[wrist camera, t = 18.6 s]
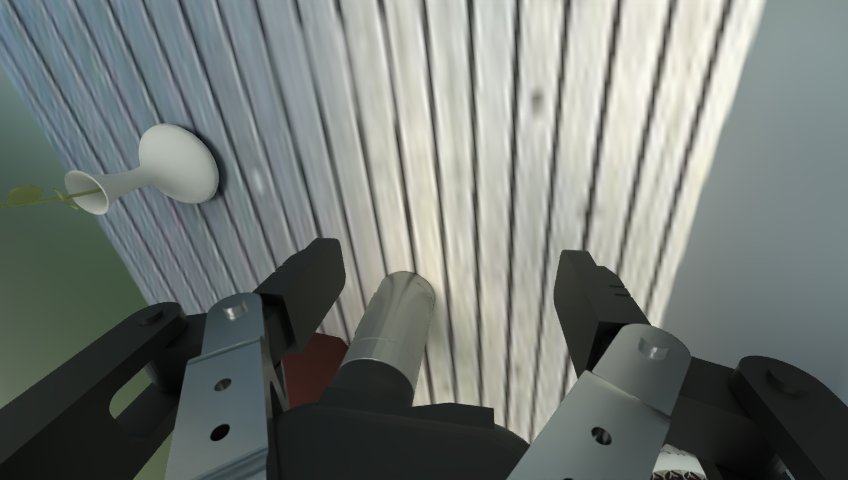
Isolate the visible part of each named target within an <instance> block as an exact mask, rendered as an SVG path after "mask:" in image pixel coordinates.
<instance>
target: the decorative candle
mask: <svg viewBox="0 0 848 480" xmlns="http://www.w3.org/2000/svg"><path fill="white" fill-rule="evenodd" d="M650 480H708V479H707V477H706V475H705V473H704V471H703V469H702V467H701V465H700V463H699V461H698V459H697V457H696V456H695V455H693V454H690V453H688V452H685V451H683V450H680V449H678V448H675V447H673V446H671V445H668V444H666V443H663V445H662V448H661V451H660V453H659V456H658V459H657V462H656V464H655V467H654V470H653V472H652V475H651V478H650Z"/></svg>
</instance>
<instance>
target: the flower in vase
mask: <svg viewBox="0 0 848 480" xmlns="http://www.w3.org/2000/svg"><path fill="white" fill-rule="evenodd" d="M139 160H140V166H139V167H138V168H136V169H133V170H130V171H126V172H121V173H116V174H108V175H93V174H88V173H85V172H81V171H70V172H68V173H67V174H66V176H65V186H66V188H67V191H68V193H69V195H66V196H63V195H62V194H61V193H60V192H59V191H57V190H56V189H54V190H55V192H56V193H57V194H58V195H59V196H60V197H56V198H50V199H44V200H38V199H39V198H40V197H41V195H42V188H41V187H38V186H33V185H27V186H21V187H18V188H16V189H14V190H12V191H11V192H10V193H9V194H8V199H9V201H10V202H11V203H0V206H4V207H9V206H26V205H33V204H39V203H46V202H52V201H57V200H63V201H64V204H66V205H70V206H72V207H73V208H76V209H77V210H79V209H78V208H77V207H76V206H75V205H74V204H72V203H71V202H70V201H69V200H68V199H69V198H72V199H73V200H74V201H75V202H76V203H77V204H78V205H79V206H80V207H82V208H83V209H85V210H86V211H88V212H90V213H93V214H97V215H102V214H105V213H106V212H107V211H108V210H109V208H110V206H111V204H112V203H113V202H114V201H115V200H116V199H117V198H119V197H120V196H122V195H124V194H126V193H128V192H130V191H133V190H135V189H138V188H141V187H145V186H155V187H156V188H157V189H159V190H160V191H161V192H162V193H164V194H165V195H167V196H169V197H171V198H173V199H175V200H178V201H180V202H184V203H203V202H206V201H208V200H210V199H211V198H212V197H213V196H214V194H215V193H216V190H217V187H218V183H219V172H218V168H217V165H216V162H215V160H214V158H213V156H212V154H211V152H210V151H209V150H208V148H207V147H206V146H205V144H204V143H203V142H202V141H201V140H200V139H199V138H197V137H196V136H195V135H193V134H192V133H191V132H189V131H187V130H185V129H183V128H181V127H179V126H176V125H173V124H157V125H155V126H153V127H151V128H150V129H149V130H147V131H146V132H145V133H144V134H143V136H142V138H141V141H140V146H139Z"/></svg>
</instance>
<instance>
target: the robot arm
mask: <svg viewBox="0 0 848 480" xmlns="http://www.w3.org/2000/svg"><path fill="white" fill-rule="evenodd" d="M345 279H346V274H345V268H344V262H343V257H342V251H341V246H340V242H339V240H338V239H335V238H316V239H315V240H314V241H313V242H312V243H311V244H310V245H309V246H307V247H306V248H305V249H304V250H301V251H299V252H298V253H296V254H294V255H292V256H290V257H289V258H288V259H287V260H286V261H285V262H284V263H283V264H282V266H280V267H279V268H278V269H277V270H275V272H273V273H272V274H271V275H270V276H269V277H268V278H267V279H266V280H265V281H264V282H263V283H262V284H260V285H259V286H258V287H257V288H256V289H255V290H254V291H253V292H252V293H249V292H247V293H239V294H235V295H231V296H229V297H226V298H224V299H222V300H220V301H219V302H217V303H216V304H215V305H213V306H212V307H211V308H210V310H209V311H208V313H202V314H195V315H188V316H185V314H184V312H183V310H182V308H181V306H180V304H178V303H175V302H163V303H158V304H154V305H151V306H148V307H146V308H143V309H141V310H139V311H137V312H135V313H134V314H132V315H131V316H129V317H128V318H126V319H125V320H123V321H122V322H121V323H119V324H118V325H117V326H115V327H114V328H112V329H111V330H110V331H108V332H107V333H105V334H104V335H103V336H101V337H100V338H98V339H97V340H96V341H94V342H93V343H91V344H90V345H89V346H87V347H86V348H85V349H83V350H82V351H80V352H79V353H78V354H76V355H75V356H73V357H72V358H71V359H69V360H68V361H67V362H65V363H64V364H62V365H61V366H60V367H58V368H57V369H56V370H54V371H53V372H51V373H50V374H49V375H47V376H46V377H45V378H43V379H42V380H40V381H39V382H38V383H36V384H35V385H33V386H32V387H30V388H29V389H28V390H26V391H25V392H24V393H22V394H21V395H20V396H18V397H17V398H15V399H14V400H12V401H11V402H10V403H8V404H7V405H5V406H4V407H3V408H1V409H0V480H133V479H134V477H135V476H136V475H137V474H138V472H139V471H140V470H141V469H142V468H143V466H144V465H145V464H146V463H147V461H148V460H149V459H150V458H151V457H152V455H153V454H154V453H155V451H156V450H157V449H158V448H159V447H160V446H161V444H162V443H163V441H165V439H166V438H167V437H168V436H169V434H170V433H171V432H172V431H173V430H174V433H173V438H172V443H171V448H170V453H169V459H168V464H167V470H166V475H165V480H650V478H651V475H652V472H653V470H654V467H655V464H656V462H657V459H658V456H659V453H660V451H661V448H662V445H663V443H666V444H668V445H671V446H673V447H675V448H678V449H680V450H683V451H685V452H688V453H690V454H693V455H695V456H696V457H697V459H698V461H699V463H700V465H701V467H702V469H703V471H704V473H705V475H706V477H707V479H708V480H791V478H790V477H789V476H788V475H787V473H786V471H785V470H786V469H788V470H789V471H790V473H791V474H792V476H793V477H794V478H795V480H848V407H847V406H846V405H845V404H844V403H843V402H842V401H841V400H840V399H839V398H838V397H837V396H836V395H834V393H833V392H832V391H831V390H829V388H827V387H826V386H825V385H824V384H823V383H822V382H820V381H819V380H817V379H816V378H815V377H813V376H811V375H810V374H808V373H806V372H805V371H803V370H801V369H799V368H797V367H795V366H793V365H790V364H788V363H785V362H783V361H780V360H777V359H773V358H769V357H763V356H747V357H744V358H742V359H741V360H740V362H739V363H738V365H737V367H736V368H735V369H732V368H729V367H725V366H722V365H719V364H715V363H712V362H708V361H705V360H702V359H698V358H695V357H692V356H691V354H690V352H689V350H688V348H687V347H686V346H685V345H684V344H683V342H681V341H680V340H679V339H678V338H676V337H675V336H673V335H672V334H670V333H668V332H666V331H664V330H662V329H660V328H657V327H654V326H651V324H650V323H649V321H648V320H647V318H646V317H645V315H644V314H643V312H642V311H641V309H640V308H639V306H638V305H637V303H636V302H635V301H634V299H633V298H632V297H631V295H630V293H629V292H628V290H627V289H626V288H625V286H624V284H623V283H622V281H621V280H620V278H619V277H618V276H617V275H616V274H615V273H613V272H612V271H610V270H609V269H608V268H606V267H605V266H597V265H596V263H595V262H594V260H593V258H592V257H591V255H590V253H589V252H588V251H580V250H563V251H562V252H561V255H560V260H559V265H558V270H557V276H556V281H555V286H554V305H555V308H556V311H557V315H558V318H559V321H560V324H561V327H562V330H563V334H564V337H565V340H566V343H567V346H568V349H569V353H570V356H571V359H572V362H573V365H574V368H575V372H576V375H577V378H578V380H577V382H576V383H575V384H574V386H573V387H572V389H571V390H570V391H569V393H568V394H567V396H566V397H565V398H564V400H563V401H562V403H561V404H560V405H559V407H558V408H557V410H556V411H555V412H554V414H553V415H552V417H551V418H550V419H549V421H548V422H547V424H546V425H545V426H544V428H543V429H542V431H541V432H540V433H539V435H538V436H537V438H536V439H535V440H534V442H533V443H532V445H529V444H528V443H527V442H526V441H525V440H524V439H522V438H521V437H519V436H518V435H516V434H515V433H513V432H512V431H510V430H508V429H506V428H504V427H502V426H500V425H497V424H495V423H494V408H488V407H480V406H472V405H465V404H457V403H441V404H433V405H424V406H415V407H412V404H413V399H414V394H415V389H416V385H417V380H418V375H419V370H420V366H421V361H422V356H423V352H424V347H425V342H426V338H427V333H428V328H429V324H430V319H431V315H432V310H433V305H434V299H435V297H434V292H433V289H432V287H431V286H430V284H429V283H428V282H427V281H426V280H425V279H423V278H422V277H420V276H418V275H416V274H414V273H410V272H395V273H392V274H390V275H388V276H386V277H385V278H384V279H383V280H382V282H381V284H380V286H379V288H378V290H377V292H376V293H374V295H373V297H372V299H371V301H370V303H369V305H368V307H367V309H366V311H365V313H364V315H363V317H362V319H361V321H360V323H359V325H358V327H357V329H356V331H355V336H354V339H353V341H352V343H351V345H350V347H349V349H348V351H347V353H346V355H345V357H344V359H343V361H342V363H341V365H340V367H339V369H338V371H337V373H336V375H335V377H334V379H333V381H332V382H331V383H330V385H329V386H328V387H325V389H324V391H323V393H322V395H321V397H320V399H319V400H318V401H313V402H308V403H305V404H302V405H299V406H296V407H293V408H291V409H290V404H289V398H288V391H287V385H286V378H285V372H284V365H283V362H282V359H281V358H282V357H283V355H284V354H285V352H286V353H295V354H301V352H302V351H303V349H304V348H305V346H306V345H307V343H308V342H309V340H310V339H311V337H312V336H313V334H314V333H315V331H316V330H317V328H318V326H319V325H320V323H321V322H322V320H323V319H324V317H325V316H326V314H327V313H328V311H329V310H330V308H331V307H332V305H333V304H334V302H335V301H336V299H337V298H338V296H339V294H340V293H341V291H342V290H343V288H344V285H345ZM142 368H144V369H145V371H146V373H147V374H148V376H149V377H150V379H151V380H152V383H151V384H150V385H149V386H148V387H147V388H146V389H145V390H144V391H143V392H142V393H141V394H140V395H139V396H138V397H137V398H136V399H135V400H134V401H133V402H132V403H131V404H130V405H129V406H128V407H127V408H126V409H125V410H124V411H123V412H122V413H121V414H120V415H119V416H118V417H117V418H116V419H114V418H113V417H112V415H111V414H110V411H109V405H110V402H111V399H112V397H113V396H114V395H115V393H116V392H117V391H118V390H119V389H120V388H121V387H122V386H123V385H124V384H126V383H127V382H128V381H129V380H130V379H131V378H132V377H133V376H134V375H135V374H137V373H138V372H139V371H140V370H141V369H142Z"/></svg>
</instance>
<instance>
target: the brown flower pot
mask: <svg viewBox="0 0 848 480" xmlns="http://www.w3.org/2000/svg"><path fill="white" fill-rule="evenodd" d="M348 349H349V347H348V346H347V345H346V344H345V343H344V342H343V340H342V339H341V338H339V337H334V336H329V335H325V334H320V333H316V332H315V333H314V334H313V336H312V337H311V339H310V340H309V342H308V343H307V345H306V346H305V348H304V349H303V351H302V352H301V354H295V353H286V352H285V354H284V355H283V357H282V358H281V359H282V362H283V365H284V372H285V378H286V385H287V391H288V398H289V404H290V409H291V408H293V407H296V406H299V405H302V404H305V403H308V402H313V401H318V400H319V399H320V397H321V395H322V393H323V391H324V389H325V387H328V386H329V385H330V383H331V382H332V381H333V379H334V377H335V375H336V373H337V371H338V369H339V367H340V365H341V363H342V361H343V359H344V357H345V355H346V353H347V351H348Z"/></svg>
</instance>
